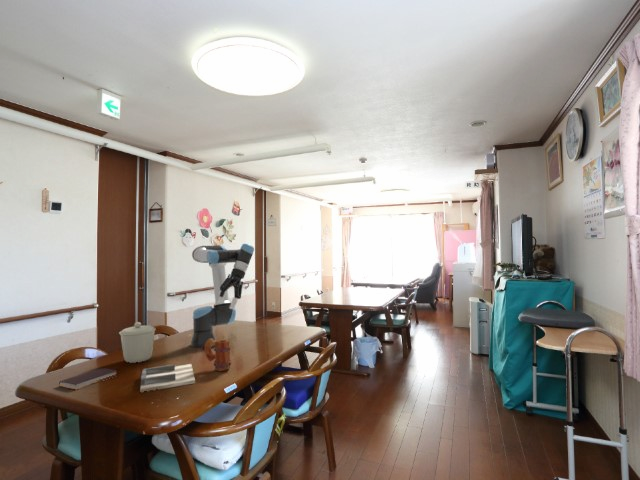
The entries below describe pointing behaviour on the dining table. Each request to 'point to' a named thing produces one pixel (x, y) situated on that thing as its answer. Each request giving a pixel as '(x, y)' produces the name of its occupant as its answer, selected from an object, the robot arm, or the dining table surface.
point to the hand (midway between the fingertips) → (225, 306)
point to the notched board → (166, 377)
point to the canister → (137, 342)
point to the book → (88, 377)
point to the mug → (218, 353)
